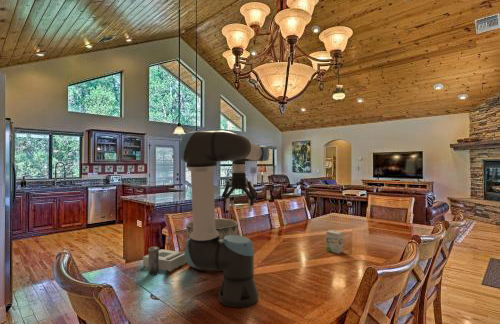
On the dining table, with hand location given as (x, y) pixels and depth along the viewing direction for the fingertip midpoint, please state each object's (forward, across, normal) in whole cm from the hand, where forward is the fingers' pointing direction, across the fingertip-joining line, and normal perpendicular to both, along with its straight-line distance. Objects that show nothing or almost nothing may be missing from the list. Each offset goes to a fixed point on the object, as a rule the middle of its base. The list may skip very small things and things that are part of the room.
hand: (238, 211), depth 157 cm
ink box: (+26, -46, -36) cm, 64 cm away
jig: (+26, +30, +23) cm, 46 cm away
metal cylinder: (+26, +28, +35) cm, 52 cm away
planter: (+27, +8, +15) cm, 32 cm away
